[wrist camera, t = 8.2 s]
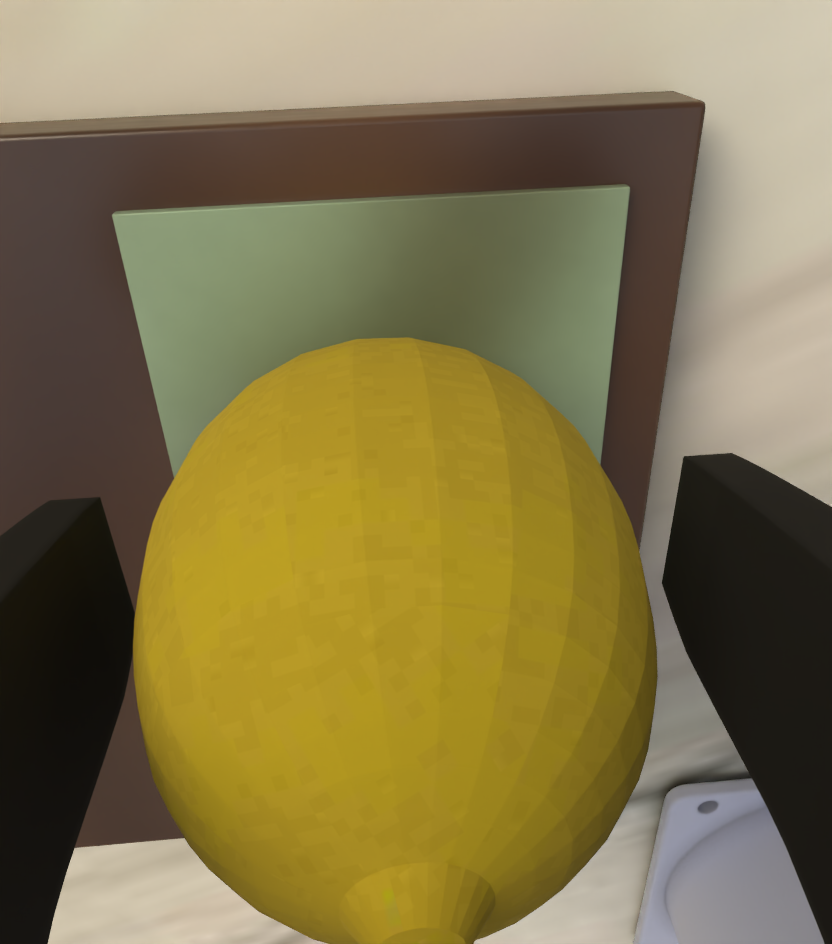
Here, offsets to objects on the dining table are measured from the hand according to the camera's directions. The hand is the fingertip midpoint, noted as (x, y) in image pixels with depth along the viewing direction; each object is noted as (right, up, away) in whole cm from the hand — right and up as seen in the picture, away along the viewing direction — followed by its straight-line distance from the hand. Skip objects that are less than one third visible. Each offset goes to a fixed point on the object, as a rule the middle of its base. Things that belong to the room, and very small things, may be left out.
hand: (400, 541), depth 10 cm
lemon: (0, +2, +3) cm, 3 cm away
